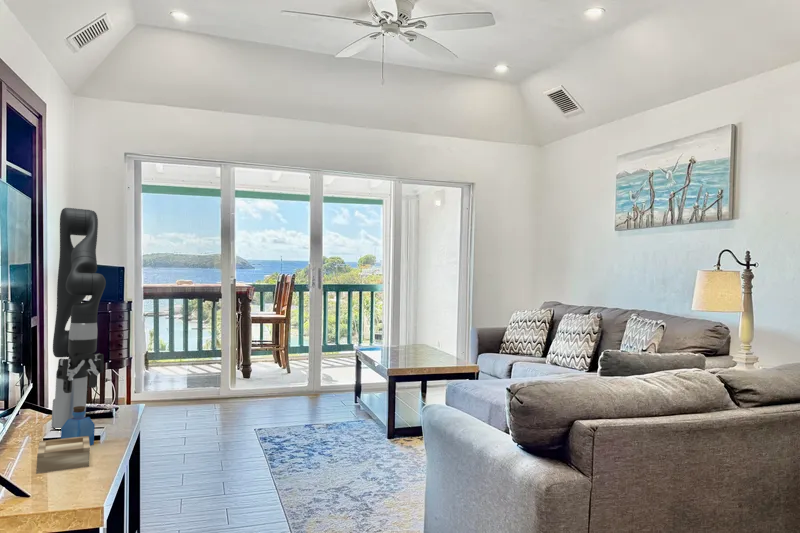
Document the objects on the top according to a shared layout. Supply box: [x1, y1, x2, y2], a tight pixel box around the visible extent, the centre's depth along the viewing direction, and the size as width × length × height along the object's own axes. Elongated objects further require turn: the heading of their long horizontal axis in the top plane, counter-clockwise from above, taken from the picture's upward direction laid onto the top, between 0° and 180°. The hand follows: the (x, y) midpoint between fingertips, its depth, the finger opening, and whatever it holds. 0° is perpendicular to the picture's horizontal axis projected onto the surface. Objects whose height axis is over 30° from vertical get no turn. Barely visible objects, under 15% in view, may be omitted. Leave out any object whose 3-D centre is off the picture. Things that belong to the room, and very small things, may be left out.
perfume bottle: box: [60, 406, 96, 447], centre depth 161 cm, size 6×6×12 cm
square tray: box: [35, 436, 91, 474], centre depth 147 cm, size 12×12×5 cm
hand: (80, 390), depth 162 cm, fingers open, 8 cm apart
